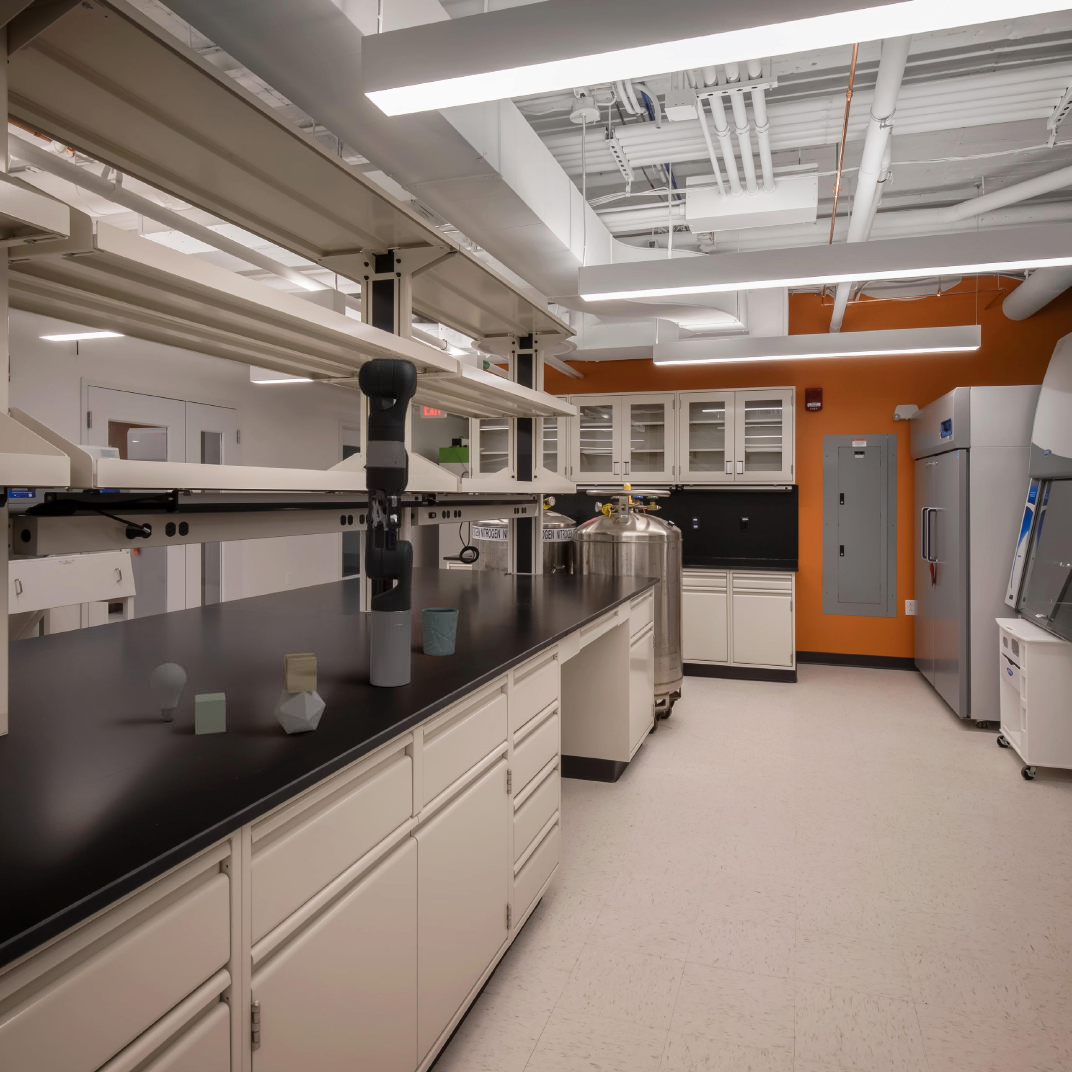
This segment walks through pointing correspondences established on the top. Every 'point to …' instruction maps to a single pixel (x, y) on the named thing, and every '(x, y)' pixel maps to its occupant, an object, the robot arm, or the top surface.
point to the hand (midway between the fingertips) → (384, 549)
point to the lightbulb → (168, 687)
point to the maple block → (300, 672)
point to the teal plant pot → (439, 630)
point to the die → (299, 711)
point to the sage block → (210, 713)
